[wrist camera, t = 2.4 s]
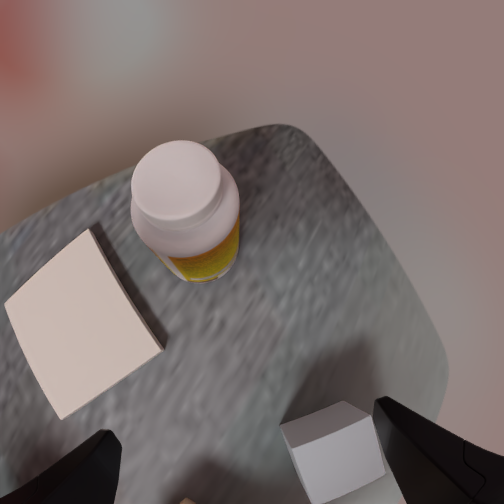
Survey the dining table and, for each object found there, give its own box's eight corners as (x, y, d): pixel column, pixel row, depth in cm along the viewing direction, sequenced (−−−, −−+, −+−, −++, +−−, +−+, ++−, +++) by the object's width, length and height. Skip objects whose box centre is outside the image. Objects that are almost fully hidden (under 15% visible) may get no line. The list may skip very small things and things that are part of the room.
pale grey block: (357, 451, 18) (385, 474, 13) (297, 476, 17) (313, 507, 12) (342, 400, 19) (370, 415, 14) (279, 424, 18) (291, 448, 13)
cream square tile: (164, 349, 19) (161, 350, 18) (66, 417, 17) (60, 420, 16) (93, 232, 21) (88, 228, 20) (10, 305, 19) (4, 304, 18)
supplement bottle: (252, 233, 22) (265, 154, 12) (214, 299, 21) (195, 265, 11) (189, 201, 22) (162, 112, 13) (150, 261, 21) (90, 202, 11)
